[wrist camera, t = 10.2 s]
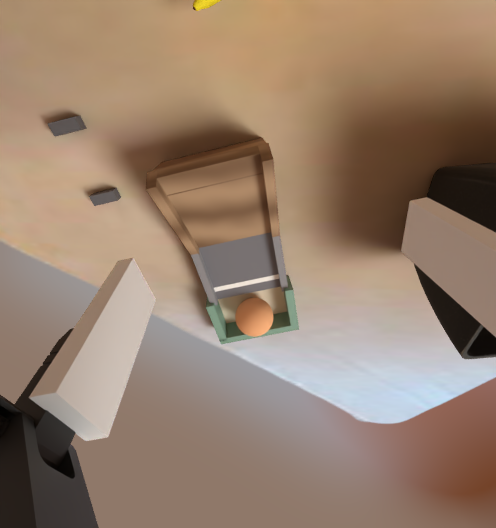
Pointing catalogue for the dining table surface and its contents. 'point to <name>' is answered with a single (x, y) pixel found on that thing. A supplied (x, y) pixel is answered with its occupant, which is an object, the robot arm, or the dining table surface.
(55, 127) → the grey flat pieces
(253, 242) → the runway
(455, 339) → the flower pot
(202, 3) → the banana
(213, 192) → the ramp
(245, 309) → the ball
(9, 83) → the dining table surface
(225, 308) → the green open tray
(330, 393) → the dining table surface
